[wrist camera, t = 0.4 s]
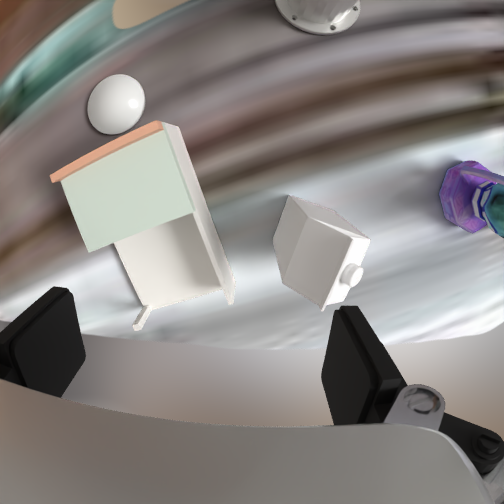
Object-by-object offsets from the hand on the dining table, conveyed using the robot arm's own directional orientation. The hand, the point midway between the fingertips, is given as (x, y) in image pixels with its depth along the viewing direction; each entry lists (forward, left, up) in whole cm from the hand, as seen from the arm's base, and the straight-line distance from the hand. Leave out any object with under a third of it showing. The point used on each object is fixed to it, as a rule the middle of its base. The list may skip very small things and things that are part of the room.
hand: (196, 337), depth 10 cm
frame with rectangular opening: (0, -12, -35) cm, 37 cm away
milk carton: (+7, +8, -35) cm, 37 cm away
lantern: (+10, +36, -35) cm, 51 cm away
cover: (-6, -12, -27) cm, 31 cm away
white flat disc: (-19, -12, -35) cm, 42 cm away
